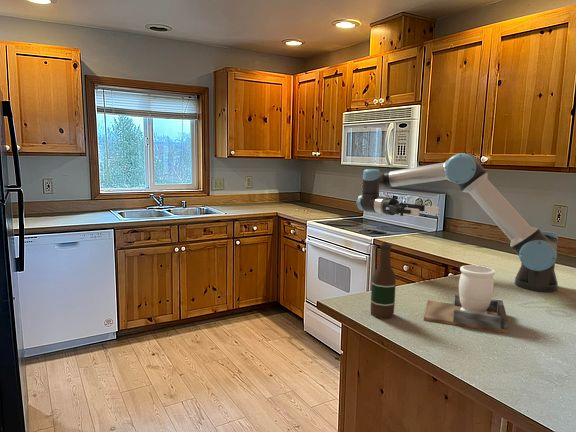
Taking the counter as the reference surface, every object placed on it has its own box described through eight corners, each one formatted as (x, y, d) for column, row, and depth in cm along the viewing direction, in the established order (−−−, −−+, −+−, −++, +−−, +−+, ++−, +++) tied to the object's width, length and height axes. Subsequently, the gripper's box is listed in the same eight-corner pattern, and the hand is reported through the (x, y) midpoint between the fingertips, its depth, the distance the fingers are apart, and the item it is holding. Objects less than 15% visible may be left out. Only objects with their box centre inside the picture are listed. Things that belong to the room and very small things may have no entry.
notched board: (502, 313, 141) (503, 300, 141) (507, 333, 126) (508, 318, 125) (427, 303, 150) (428, 290, 150) (423, 320, 135) (424, 306, 134)
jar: (456, 305, 145) (460, 263, 143) (489, 310, 142) (493, 266, 139) (456, 316, 136) (460, 271, 133) (492, 321, 132) (496, 275, 130)
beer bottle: (365, 314, 139) (368, 243, 135) (378, 308, 144) (382, 239, 141) (385, 321, 133) (389, 247, 130) (398, 315, 139) (402, 243, 135)
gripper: (404, 212, 193) (445, 218, 177) (367, 216, 178) (409, 223, 162) (405, 196, 192) (447, 200, 176) (368, 198, 177) (410, 204, 160)
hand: (429, 211), depth 169 cm, fingers open, 13 cm apart
